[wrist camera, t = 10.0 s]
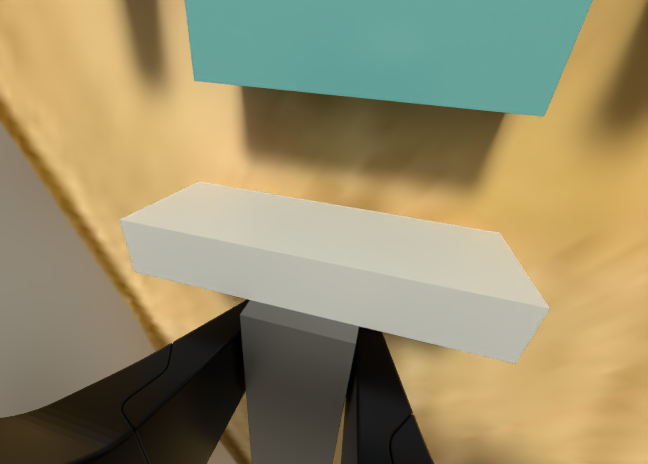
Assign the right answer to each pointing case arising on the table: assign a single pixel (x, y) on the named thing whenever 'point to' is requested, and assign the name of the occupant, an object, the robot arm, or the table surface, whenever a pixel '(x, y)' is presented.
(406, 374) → the table surface
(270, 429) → the pusher
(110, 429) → the robot arm
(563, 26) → the tile
